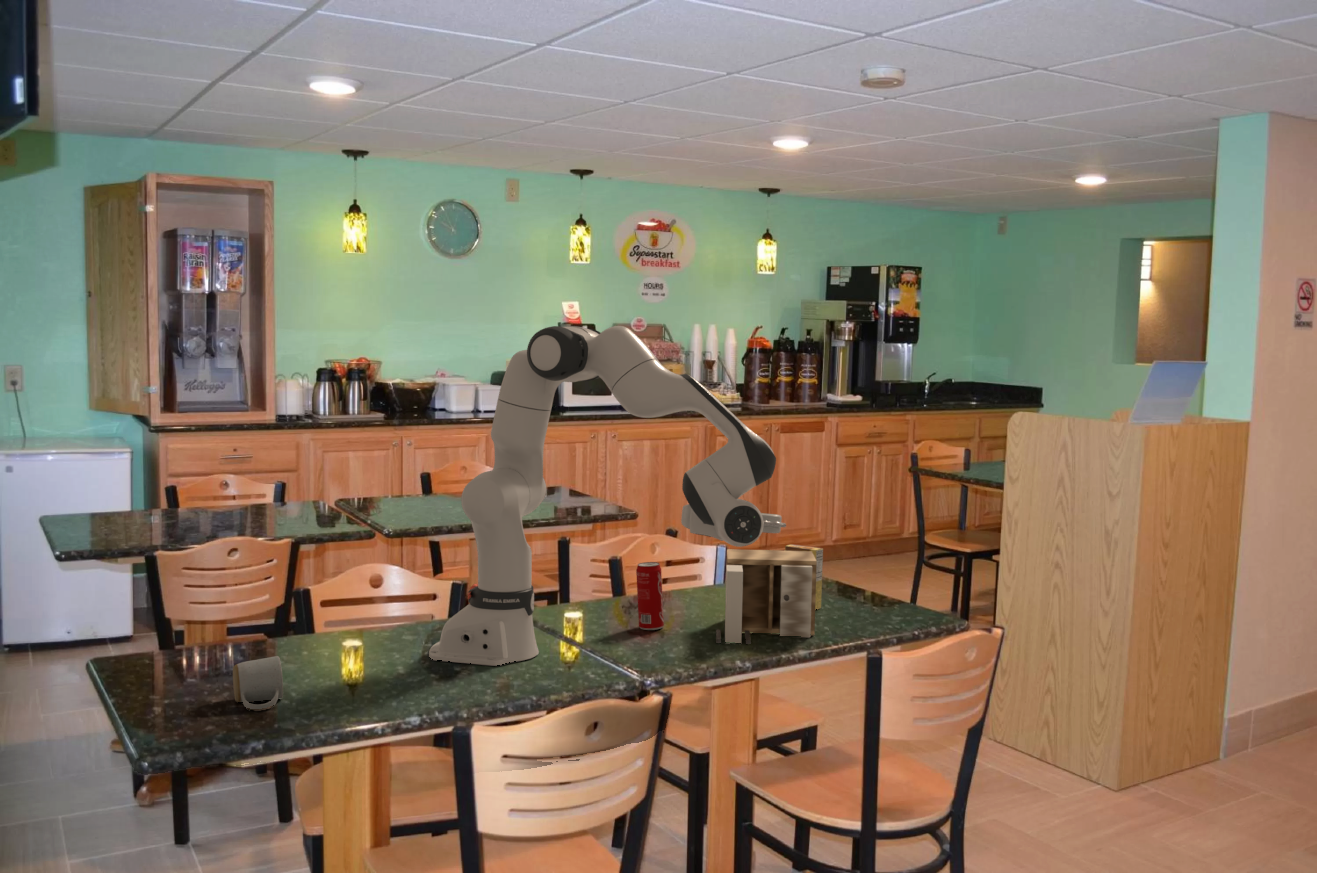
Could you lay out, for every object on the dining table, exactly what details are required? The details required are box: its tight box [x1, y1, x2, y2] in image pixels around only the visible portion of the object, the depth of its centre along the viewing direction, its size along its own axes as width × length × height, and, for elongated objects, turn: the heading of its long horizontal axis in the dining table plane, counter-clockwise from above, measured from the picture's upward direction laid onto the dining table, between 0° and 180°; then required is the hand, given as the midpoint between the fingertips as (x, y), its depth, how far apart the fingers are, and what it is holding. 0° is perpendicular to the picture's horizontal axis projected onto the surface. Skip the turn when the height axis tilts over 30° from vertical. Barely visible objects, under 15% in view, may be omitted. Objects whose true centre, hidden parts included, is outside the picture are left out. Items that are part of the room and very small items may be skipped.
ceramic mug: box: [232, 655, 284, 709], centre depth 199 cm, size 11×8×8 cm
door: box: [724, 564, 743, 644], centre depth 247 cm, size 4×7×16 cm, turn 177°
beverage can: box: [635, 561, 665, 631], centre depth 256 cm, size 6×6×15 cm
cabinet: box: [715, 548, 817, 645], centre depth 254 cm, size 22×22×17 cm
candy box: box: [784, 543, 824, 611], centre depth 280 cm, size 9×4×15 cm, turn 55°
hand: (728, 518), depth 233 cm, fingers open, 8 cm apart
